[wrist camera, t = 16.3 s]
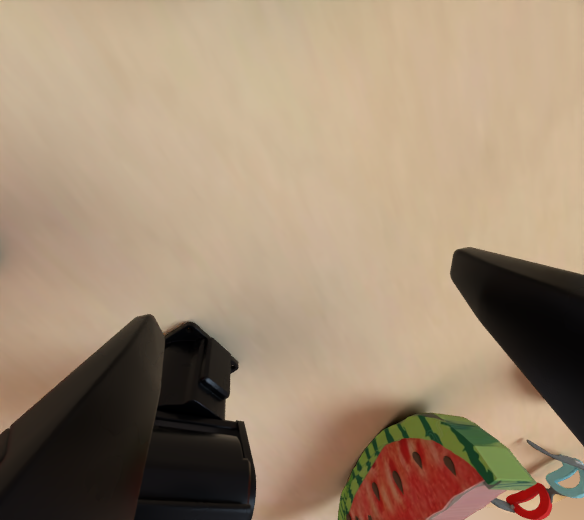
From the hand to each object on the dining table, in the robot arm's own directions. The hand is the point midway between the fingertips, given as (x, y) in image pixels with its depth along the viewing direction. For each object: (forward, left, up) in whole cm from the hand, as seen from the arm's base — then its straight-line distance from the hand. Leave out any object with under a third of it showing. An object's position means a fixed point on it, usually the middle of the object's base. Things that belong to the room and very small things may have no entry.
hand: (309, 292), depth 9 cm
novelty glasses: (+9, -61, -12) cm, 62 cm away
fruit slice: (-6, -37, -12) cm, 39 cm away
